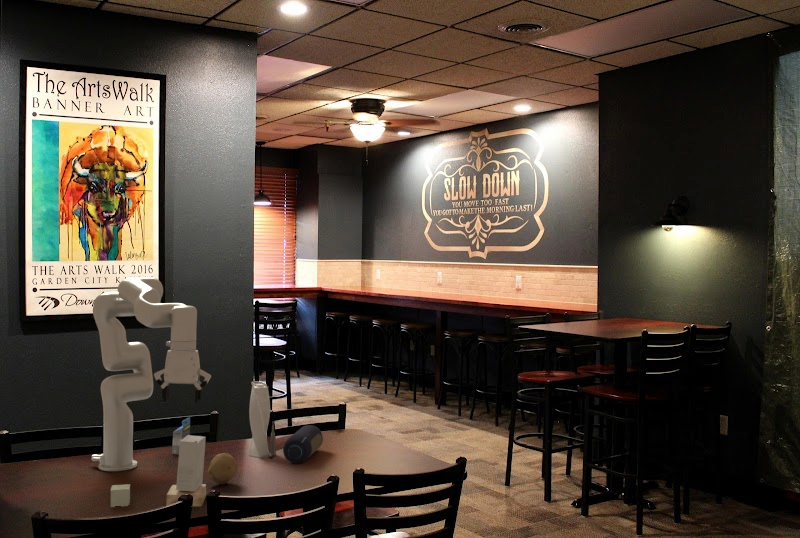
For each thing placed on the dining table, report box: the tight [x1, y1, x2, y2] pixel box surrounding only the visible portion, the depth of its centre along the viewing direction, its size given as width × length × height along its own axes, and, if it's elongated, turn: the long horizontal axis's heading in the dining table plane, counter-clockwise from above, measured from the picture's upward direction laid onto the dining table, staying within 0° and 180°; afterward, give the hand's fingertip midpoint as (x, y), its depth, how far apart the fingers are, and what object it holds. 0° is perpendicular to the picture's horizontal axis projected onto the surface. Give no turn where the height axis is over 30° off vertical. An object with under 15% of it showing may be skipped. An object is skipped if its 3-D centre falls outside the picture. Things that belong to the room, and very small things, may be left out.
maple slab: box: [166, 483, 207, 507], centre depth 233 cm, size 10×10×4 cm
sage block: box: [110, 483, 131, 508], centre depth 230 cm, size 5×5×5 cm
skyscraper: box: [248, 380, 277, 460], centre depth 287 cm, size 8×8×28 cm
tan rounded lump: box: [206, 452, 238, 485], centre depth 250 cm, size 9×9×10 cm
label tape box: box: [171, 416, 191, 455], centre depth 292 cm, size 9×4×12 cm, turn 178°
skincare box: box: [175, 434, 207, 492], centre depth 234 cm, size 8×6×15 cm
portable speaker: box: [282, 424, 324, 465], centre depth 287 cm, size 25×10×10 cm, turn 172°
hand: (181, 401), depth 242 cm, fingers open, 9 cm apart
